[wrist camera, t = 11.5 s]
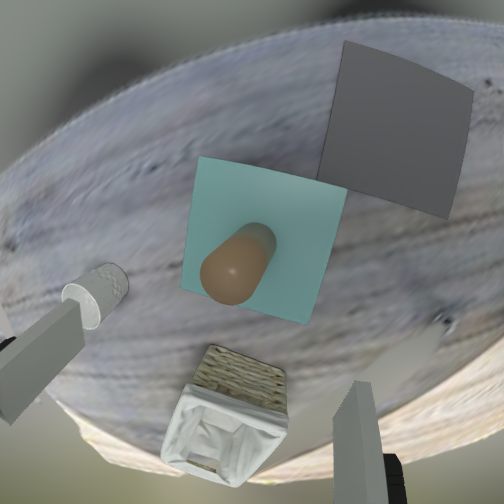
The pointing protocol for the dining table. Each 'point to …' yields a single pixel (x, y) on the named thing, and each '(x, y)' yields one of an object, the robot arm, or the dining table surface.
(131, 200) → the dining table surface
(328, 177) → the mat
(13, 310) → the dining table surface
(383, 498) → the robot arm
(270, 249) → the lid
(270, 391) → the storage basket
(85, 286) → the white cup
